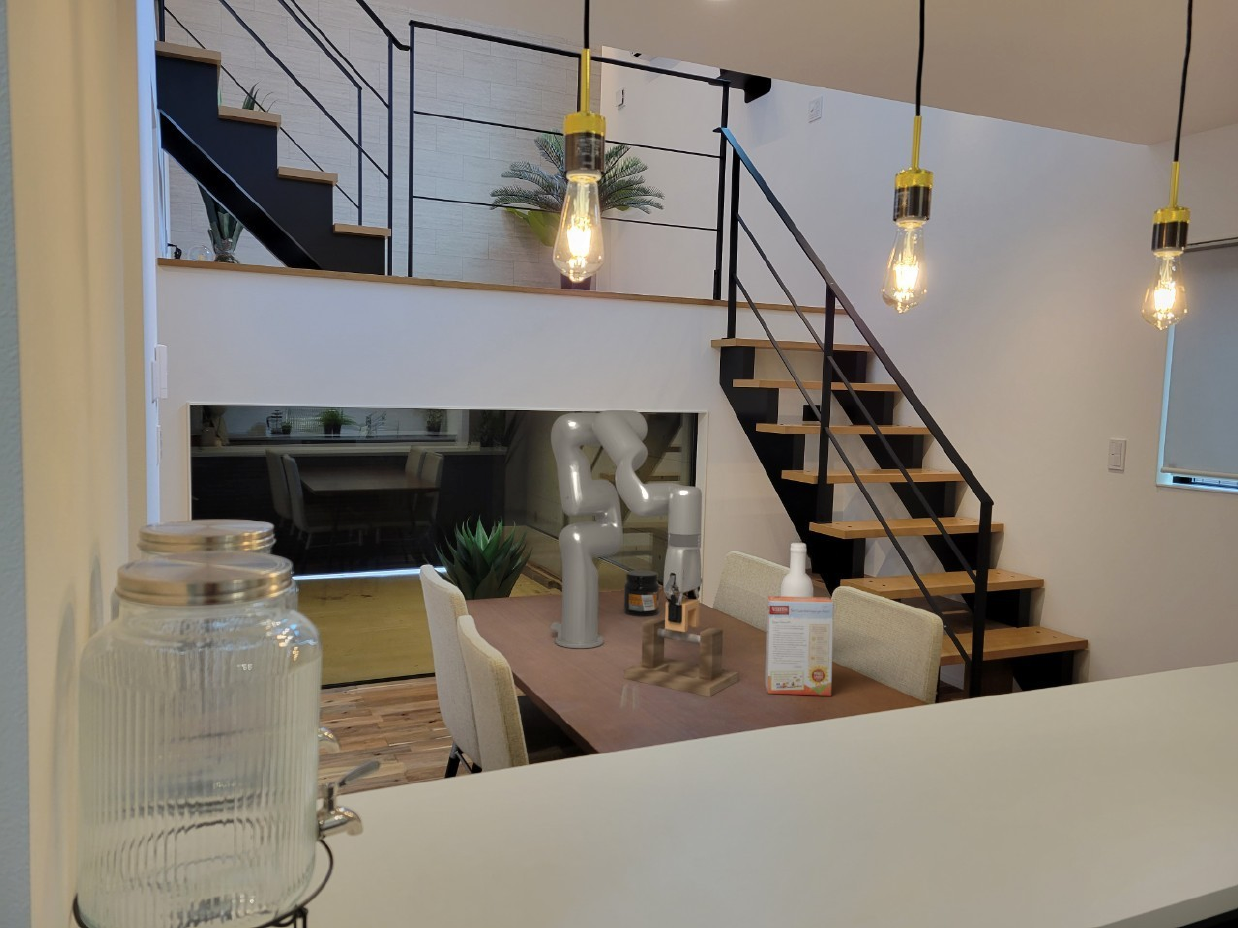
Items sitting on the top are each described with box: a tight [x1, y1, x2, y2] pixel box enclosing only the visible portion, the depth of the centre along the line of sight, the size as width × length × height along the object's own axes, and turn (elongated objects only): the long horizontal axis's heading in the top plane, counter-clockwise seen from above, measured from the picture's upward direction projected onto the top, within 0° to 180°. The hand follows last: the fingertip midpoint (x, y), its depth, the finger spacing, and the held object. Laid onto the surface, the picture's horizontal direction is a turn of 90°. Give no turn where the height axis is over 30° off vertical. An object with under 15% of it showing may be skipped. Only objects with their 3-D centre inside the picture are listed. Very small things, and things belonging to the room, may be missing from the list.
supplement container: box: [623, 569, 660, 617], centre depth 274 cm, size 10×10×12 cm
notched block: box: [664, 597, 700, 633], centre depth 208 cm, size 5×7×6 cm
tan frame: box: [623, 617, 739, 698], centre depth 208 cm, size 22×14×12 cm, turn 57°
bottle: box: [780, 542, 814, 597], centre depth 220 cm, size 8×8×30 cm
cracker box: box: [765, 595, 835, 697], centre depth 201 cm, size 14×6×21 cm, turn 86°
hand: (683, 618), depth 208 cm, fingers closed on notched block, 6 cm apart
